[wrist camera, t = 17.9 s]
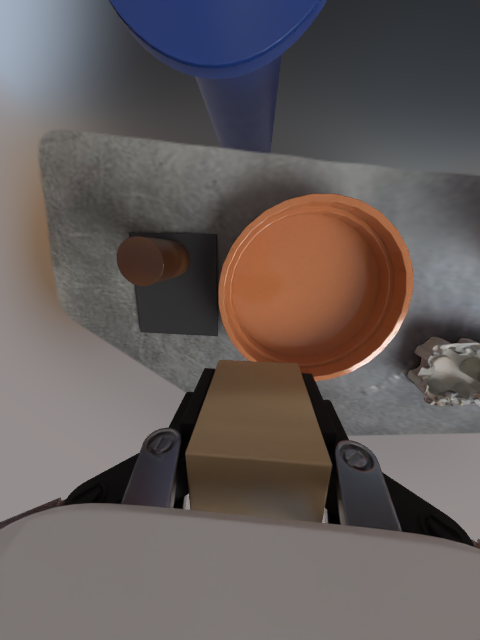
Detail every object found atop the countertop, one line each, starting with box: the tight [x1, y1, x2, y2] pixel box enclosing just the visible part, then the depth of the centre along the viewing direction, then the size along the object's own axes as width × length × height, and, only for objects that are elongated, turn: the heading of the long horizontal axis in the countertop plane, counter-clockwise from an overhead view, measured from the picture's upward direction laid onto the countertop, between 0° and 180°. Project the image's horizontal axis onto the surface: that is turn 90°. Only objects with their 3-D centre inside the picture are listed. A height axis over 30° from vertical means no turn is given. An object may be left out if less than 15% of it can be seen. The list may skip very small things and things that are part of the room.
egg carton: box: [407, 337, 480, 406], centre depth 25 cm, size 11×8×4 cm
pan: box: [218, 194, 413, 381], centre depth 23 cm, size 18×18×4 cm
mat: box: [129, 233, 218, 336], centre depth 27 cm, size 12×10×1 cm
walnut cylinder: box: [117, 236, 190, 286], centre depth 22 cm, size 4×4×8 cm
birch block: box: [185, 360, 332, 523], centre depth 9 cm, size 4×4×6 cm
